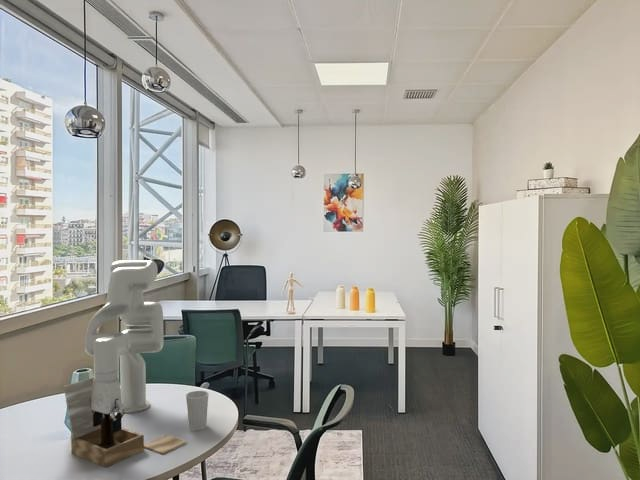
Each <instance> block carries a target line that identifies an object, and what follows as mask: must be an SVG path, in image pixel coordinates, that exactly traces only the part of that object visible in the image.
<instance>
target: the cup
mask: <svg viewBox="0 0 640 480" xmlns="http://www.w3.org/2000/svg"><path fill="white" fill-rule="evenodd" d="M185 397H186V398H185V399H186V400H185V401H186V407H187V417H188V418H187V419H188V429H189V430H191V431H201V430H205V429H206V428H207V427H208V426H207V425H208V424H207V421H208V420H207V418H208V406H209V405H208V404H209V392H208V391H205V390H193V391H190V392H187V393H186V394H185Z"/></svg>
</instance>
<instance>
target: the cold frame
mask: <svg viewBox="0 0 640 480" xmlns="http://www.w3.org/2000/svg"><path fill="white" fill-rule="evenodd" d="M93 380H94V377H90V378H87V379H83V380H80V381H77V382H73V383H69V384H66V385H63V391H64V397H65V403H66V408H67V414H68V415H67V416H68V419H69V420H68V421H69V428H70V435H71V436H70V439H71V440H70V442H71V443H70V444H71V454H73V455H75V456H78V457H81V458H83V459H84V460H88V461H90V462H91V463H94V464H97V465H99V466H102V467H105V468H108V467H110V466H112V465H114V464H117V463H119V462H121V461H123V460H125V459H128V458H130V457H131V456H134V455H136V454H138V453H141V452H143V451H144V450H145V448H144V445H145V435H144V434H141V433H139V432H136V431H133V430H129V429H127V428H124V427H122V429H121V430H120V431H118V432H115V433H114V440H116V441H117V442H118V445H116V446H113V447H111V448H109V449H105V448H102V447H100V446H98V445H99V444H100V443H101V425H98V426H96V427H94V426H93V414H92V409H91V407H90V406H91V405H90V401H89V399H90V398H91V391H92V384H93ZM103 417H105V416H104V414H103Z"/></svg>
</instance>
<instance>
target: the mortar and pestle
mask: <svg viewBox="0 0 640 480" xmlns="http://www.w3.org/2000/svg"><path fill="white" fill-rule="evenodd" d="M104 416H105V417H102V418H101V443H99V444H97V446H100V447H102V448H105V449H109V448H111V447H113V446H116V445H118V444H119V443H118V442H117V441H116V440H114V433H112V420H113V418H112V416H111V414H104Z"/></svg>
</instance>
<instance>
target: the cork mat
mask: <svg viewBox="0 0 640 480" xmlns="http://www.w3.org/2000/svg"><path fill="white" fill-rule="evenodd" d="M186 444H187V441H186V440H184V439H183V440H182V439H181V438H176V437H174V436H171V435H167V434H165V435H163V436H161V437H160V436H159V437H158V438H156V439H154V440H152V441H150V442H148V443H144V449H146V450H149V451H152V452H153V453H157V454H160V455H165V454H167V453H170V452H172V451H173V450H176V449H177V448H180V447H181V446H183V445H186Z"/></svg>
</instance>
